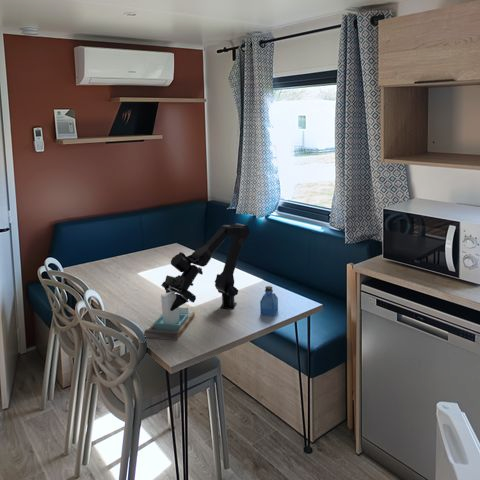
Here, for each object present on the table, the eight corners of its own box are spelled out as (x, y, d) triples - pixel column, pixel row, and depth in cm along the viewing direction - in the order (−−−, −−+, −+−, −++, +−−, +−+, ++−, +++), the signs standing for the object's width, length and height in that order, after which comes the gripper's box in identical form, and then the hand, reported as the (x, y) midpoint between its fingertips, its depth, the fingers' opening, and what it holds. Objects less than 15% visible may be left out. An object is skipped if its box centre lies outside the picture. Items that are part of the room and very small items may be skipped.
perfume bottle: (260, 314, 226) (259, 289, 223) (264, 309, 232) (264, 284, 229) (273, 316, 224) (273, 290, 221) (278, 310, 229) (277, 285, 226)
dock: (165, 314, 229) (164, 308, 228) (194, 316, 226) (194, 310, 225) (144, 337, 207) (144, 331, 206) (177, 340, 204) (177, 333, 203)
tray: (168, 313, 229) (167, 305, 228) (192, 314, 227) (191, 307, 226) (154, 329, 213) (153, 321, 212) (179, 331, 211) (179, 322, 210)
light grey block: (163, 322, 217) (161, 294, 214) (173, 318, 220) (171, 291, 217) (169, 325, 213) (167, 297, 210) (179, 322, 217) (177, 294, 213)
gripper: (163, 263, 220) (143, 293, 216) (188, 272, 206) (167, 305, 202) (179, 276, 227) (160, 306, 223) (204, 286, 213) (184, 318, 209)
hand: (167, 308), depth 214 cm, fingers closed on light grey block, 5 cm apart
